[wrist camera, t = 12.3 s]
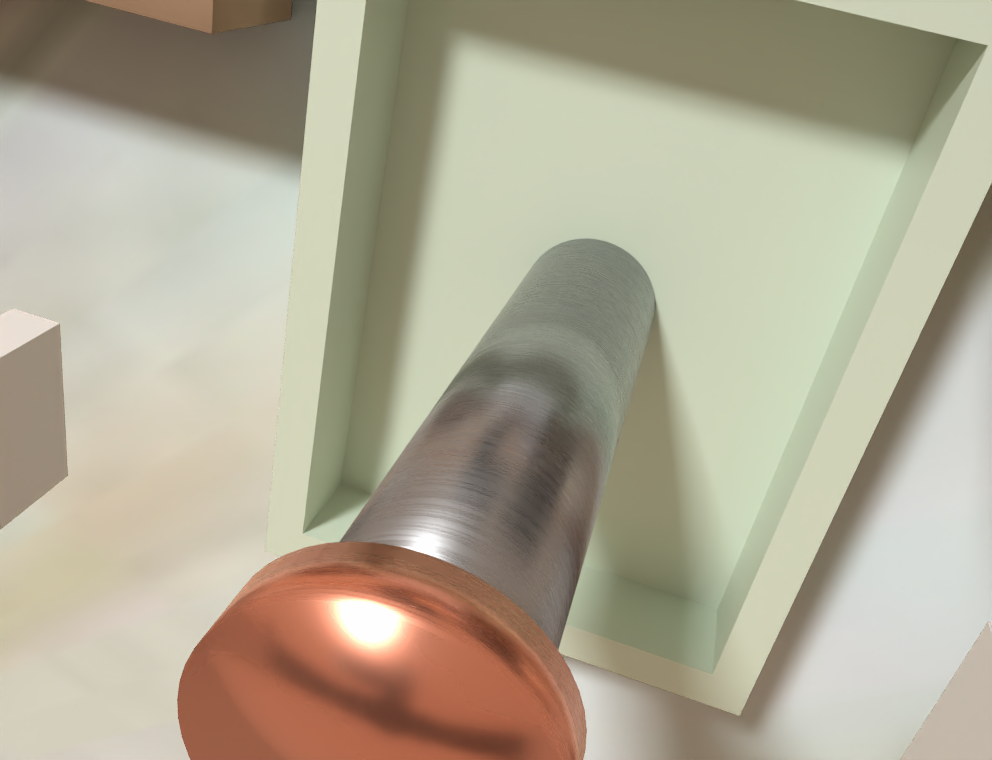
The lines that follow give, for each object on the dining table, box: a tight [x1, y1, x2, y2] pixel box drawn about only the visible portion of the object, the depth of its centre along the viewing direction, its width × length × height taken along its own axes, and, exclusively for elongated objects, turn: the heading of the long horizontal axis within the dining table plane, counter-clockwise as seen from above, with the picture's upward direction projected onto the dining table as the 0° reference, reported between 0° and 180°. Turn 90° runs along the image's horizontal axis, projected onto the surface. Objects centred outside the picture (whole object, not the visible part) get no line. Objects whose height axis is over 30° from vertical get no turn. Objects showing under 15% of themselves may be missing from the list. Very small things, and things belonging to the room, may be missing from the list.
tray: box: [265, 0, 992, 716], centre depth 21 cm, size 17×13×3 cm
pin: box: [177, 238, 656, 760], centre depth 16 cm, size 4×4×14 cm
